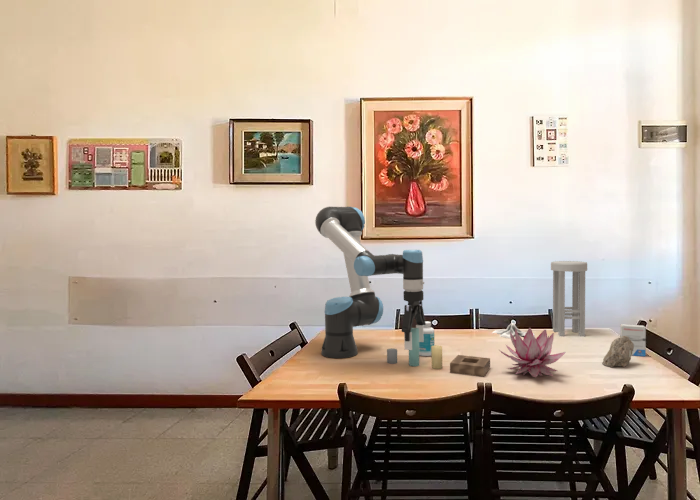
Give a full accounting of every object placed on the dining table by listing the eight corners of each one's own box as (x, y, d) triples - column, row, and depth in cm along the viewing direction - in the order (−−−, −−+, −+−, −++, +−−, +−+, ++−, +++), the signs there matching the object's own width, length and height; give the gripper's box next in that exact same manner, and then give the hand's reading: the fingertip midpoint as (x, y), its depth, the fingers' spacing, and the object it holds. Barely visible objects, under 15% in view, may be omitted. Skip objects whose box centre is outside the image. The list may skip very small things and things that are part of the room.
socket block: (450, 372, 170) (449, 362, 170) (458, 363, 181) (458, 354, 181) (483, 376, 165) (483, 366, 164) (490, 367, 175) (490, 358, 175)
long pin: (407, 365, 179) (407, 329, 179) (410, 362, 183) (410, 327, 182) (417, 366, 178) (417, 330, 177) (420, 364, 181) (420, 328, 181)
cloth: (543, 338, 222) (543, 325, 222) (507, 341, 218) (507, 328, 218) (516, 329, 244) (516, 317, 243) (483, 331, 240) (483, 319, 239)
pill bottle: (434, 357, 191) (434, 324, 190) (415, 356, 192) (415, 323, 192) (434, 352, 198) (434, 320, 198) (417, 351, 200) (416, 320, 199)
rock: (627, 354, 167) (604, 343, 173) (619, 377, 172) (597, 366, 177) (642, 340, 175) (620, 330, 181) (634, 362, 180) (612, 352, 185)
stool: (547, 330, 238) (547, 261, 236) (579, 330, 236) (580, 260, 234) (556, 336, 222) (556, 263, 221) (591, 337, 220) (591, 263, 219)
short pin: (385, 363, 184) (385, 350, 183) (389, 360, 187) (389, 348, 187) (395, 364, 182) (394, 351, 181) (398, 361, 185) (398, 349, 185)
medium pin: (430, 368, 175) (430, 347, 175) (433, 365, 179) (433, 344, 179) (440, 369, 174) (440, 348, 173) (443, 366, 177) (443, 345, 177)
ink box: (643, 353, 191) (644, 325, 191) (645, 356, 187) (646, 327, 186) (619, 351, 195) (620, 323, 194) (621, 354, 190) (621, 325, 190)
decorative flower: (559, 387, 153) (559, 341, 152) (493, 377, 164) (492, 334, 164) (568, 369, 171) (568, 328, 170) (508, 362, 182) (508, 323, 182)
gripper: (411, 294, 166) (412, 354, 167) (432, 286, 189) (433, 339, 189) (392, 293, 170) (393, 352, 170) (414, 286, 192) (415, 338, 193)
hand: (414, 345), depth 180 cm, fingers open, 13 cm apart
